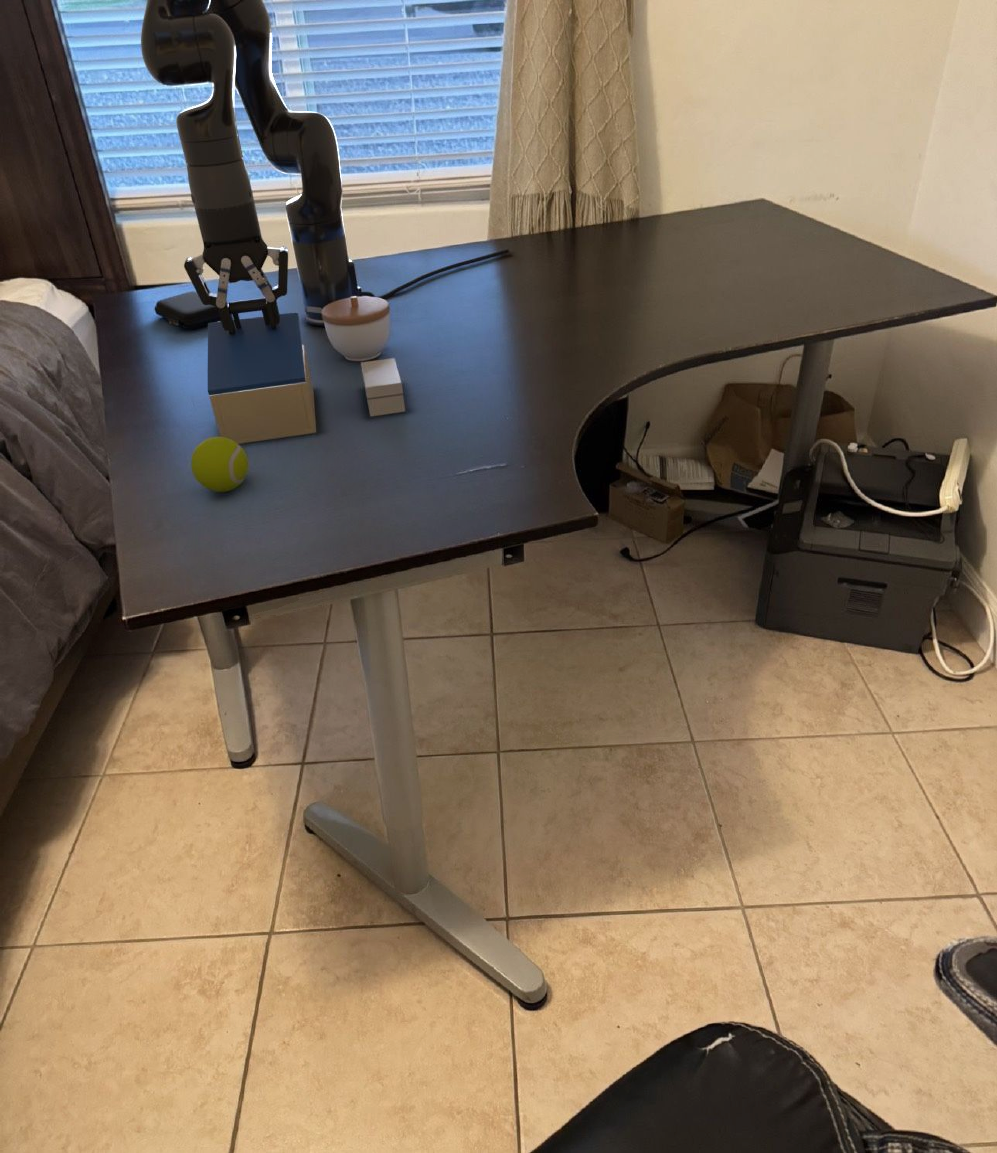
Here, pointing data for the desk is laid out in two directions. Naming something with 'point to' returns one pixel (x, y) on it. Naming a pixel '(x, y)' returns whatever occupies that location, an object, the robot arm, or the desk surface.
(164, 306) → the carrying case
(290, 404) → the storage box
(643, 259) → the desk surface
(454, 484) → the desk surface
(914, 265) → the desk surface
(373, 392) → the beige case
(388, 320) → the white bowl with lid
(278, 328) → the blue lid
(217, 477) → the tennis ball
